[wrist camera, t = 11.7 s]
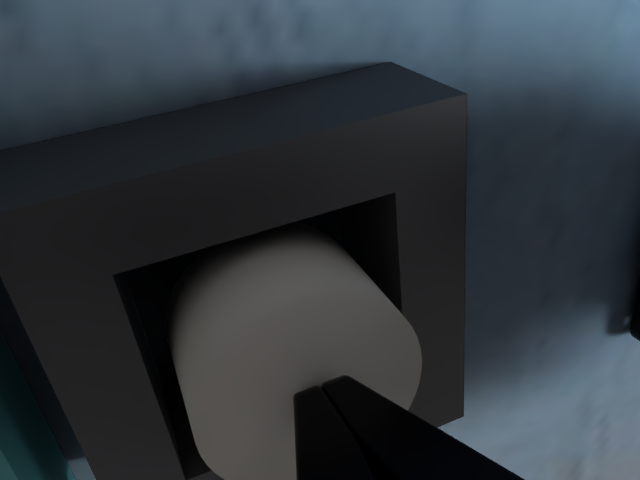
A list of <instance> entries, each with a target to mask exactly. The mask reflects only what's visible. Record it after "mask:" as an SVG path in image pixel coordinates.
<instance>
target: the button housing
mask: <svg viewBox="0 0 640 480" xmlns="http://www.w3.org/2000/svg"><path fill="white" fill-rule="evenodd" d="M466 133H467V94H466V93H464V92H461V91H459V90H456V89H454V88H452V87H449V86H447V85H444V84H442V83H440V82H437V81H435V80H433V79H430V78H428V77H425V76H423V75H421V74H418V73H416V72H414V71H411V70H409V69H406V68H404V67H402V66H399V65H397V64H394V63H392V62H388V63H384V64H380V65H375V66H371V67H366V68H362V69H358V70H353V71H349V72H344V73H340V74H336V75H331V76H327V77H323V78H318V79H314V80H309V81H305V82H301V83H296V84H292V85H287V86H283V87H279V88H274V89H270V90H265V91H261V92H257V93H252V94H248V95H244V96H239V97H235V98H230V99H226V100H222V101H217V102H213V103H208V104H204V105H200V106H195V107H191V108H186V109H182V110H178V111H173V112H169V113H164V114H160V115H156V116H151V117H147V118H143V119H138V120H134V121H129V122H125V123H121V124H116V125H112V126H107V127H103V128H99V129H94V130H90V131H85V132H81V133H77V134H72V135H68V136H64V137H59V138H55V139H50V140H46V141H42V142H37V143H33V144H28V145H24V146H20V147H15V148H11V149H6V150H2V151H0V277H1V280H2V282H3V284H4V286H5V288H6V290H7V292H8V294H9V296H10V299H11V301H12V303H13V305H14V307H15V309H16V311H17V313H18V315H19V318H20V320H21V322H22V324H23V326H24V328H25V330H26V332H27V334H28V337H29V339H30V341H31V343H32V345H33V347H34V349H35V351H36V353H37V356H38V358H39V360H40V362H41V364H42V366H43V368H44V370H45V372H46V375H47V377H48V379H49V381H50V383H51V385H52V387H53V389H54V391H55V394H56V396H57V398H58V400H59V402H60V404H61V406H62V408H63V410H64V413H65V415H66V417H67V419H68V421H69V423H70V425H71V427H72V429H73V431H74V434H75V436H76V438H77V440H78V442H79V444H80V446H81V448H82V450H83V453H84V455H85V457H86V459H87V461H88V463H89V465H90V467H91V469H92V472H93V474H94V476H95V478H96V480H224V479H223V478H221V477H220V476H218V475H217V474H215V473H214V472H213V471H212V470H211V469H210V468H209V467H208V466H207V464H206V463H205V462H204V460H203V459H202V457H201V456H200V453H199V451H198V449H197V447H196V444H195V440H194V437H193V433H192V429H191V425H190V422H189V418H188V414H187V411H186V407H185V403H184V400H183V396H182V392H181V389H180V385H179V384H177V385H174V386H172V387H169V388H166V389H164V387H163V384H162V381H161V378H160V376H159V373H158V370H157V367H156V364H155V361H154V358H153V355H152V352H151V349H150V346H149V343H148V341H147V338H146V335H145V332H144V329H143V326H142V323H141V320H140V317H139V314H138V311H137V309H136V306H135V303H134V300H133V297H132V294H131V291H130V288H129V285H128V282H127V279H126V276H125V274H124V272H125V271H128V270H132V269H135V268H139V267H142V266H145V265H149V264H152V263H156V262H159V261H163V260H166V259H169V258H173V257H176V256H180V255H183V254H186V253H190V252H193V251H197V250H200V249H204V248H207V247H210V246H214V245H217V244H221V243H224V242H227V241H231V240H234V239H238V238H241V237H245V236H248V235H251V234H255V233H258V232H262V231H265V230H268V229H272V228H275V227H279V226H282V225H286V224H289V223H292V222H296V221H299V220H303V219H306V218H309V217H313V216H316V215H320V214H323V213H327V212H330V211H333V210H337V209H340V208H341V210H342V219H343V228H344V237H345V246H346V251H347V253H348V254H349V255H350V256H351V257H352V258H353V259H354V260H355V262H356V263H357V264H358V265H359V266H360V267H361V268H362V270H363V271H364V272H365V273H366V274H367V275H368V276H369V277H370V279H371V280H372V281H373V282H374V283H375V284H376V285H377V286H378V288H379V289H380V290H381V291H382V292H383V293H384V294H385V296H386V297H387V298H388V299H389V300H390V301H391V302H392V303H393V305H394V306H395V307H396V308H397V309H398V310H399V311H400V312H401V314H402V315H403V316H404V317H405V318H406V319H407V321H408V322H409V323H410V325H411V326H412V327H413V329H414V331H415V333H416V335H417V337H418V340H419V344H420V347H421V355H422V371H421V377H420V382H419V385H418V389H417V392H416V395H415V397H414V399H413V401H412V404H411V406H410V407H409V409H408V411H409V412H411V413H413V414H414V415H416V416H418V417H420V418H421V419H423V420H425V421H426V422H428V423H430V424H431V425H433V426H435V427H436V428H437V427H439V426H442V425H444V424H446V423H449V422H451V421H454V420H456V419H458V418H461V417H463V416H464V327H465V230H466Z"/></svg>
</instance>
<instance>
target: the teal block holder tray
mask: <svg viewBox="0 0 640 480" xmlns="http://www.w3.org/2000/svg"><path fill="white" fill-rule="evenodd" d="M0 480H76V479H75V477H74V475H73V473H72V471H71V469H70V467H69V465H68V463H67V461H66V459H65V457H64V455H63V453H62V451H61V449H60V447H59V445H58V443H57V441H56V439H55V437H54V435H53V433H52V431H51V429H50V427H49V425H48V423H47V421H46V419H45V417H44V415H43V413H42V411H41V409H40V407H39V405H38V403H37V401H36V399H35V397H34V395H33V393H32V391H31V389H30V387H29V385H28V383H27V381H26V379H25V377H24V375H23V373H22V371H21V369H20V367H19V365H18V363H17V361H16V359H15V357H14V355H13V353H12V351H11V349H10V347H9V345H8V343H7V341H6V339H5V337H4V335H3V333H2V331H1V329H0Z"/></svg>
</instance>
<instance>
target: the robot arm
mask: <svg viewBox="0 0 640 480" xmlns="http://www.w3.org/2000/svg"><path fill="white" fill-rule="evenodd" d="M630 333H631V335H632V336H633V337H634V338H636V339H637V340H639V341H640V281H639V286H638V291H637V296H636V302H635V307H634V312H633V317H632V322H631V328H630ZM293 406H294V430H295V455H296V479H297V480H524V479H523V478H521V477H519V476H518V475H516V474H514V473H513V472H511V471H509V470H507V469H506V468H504V467H502V466H501V465H499V464H497V463H496V462H494V461H492V460H491V459H489V458H487V457H485V456H484V455H482V454H480V453H479V452H477V451H475V450H474V449H472V448H470V447H469V446H467V445H465V444H464V443H462V442H460V441H458V440H457V439H455V438H453V437H452V436H450V435H448V434H447V433H445V432H443V431H442V430H440V429H438V428H436V427H435V426H433V425H431V424H430V423H428V422H426V421H425V420H423V419H421V418H420V417H418V416H416V415H414V414H413V413H411V412H409V411H408V410H406V409H404V408H403V407H401V406H399V405H398V404H396V403H394V402H392V401H391V400H389V399H387V398H386V397H384V396H382V395H381V394H379V393H377V392H376V391H374V390H372V389H371V388H369V387H367V386H365V385H364V384H362V383H360V382H359V381H357V380H355V379H354V378H352V377H350V376H347V375H342V376H340V377H337V378H334V379H332V380H329V381H326V382H324V383H323V384H322V385H321V387H320V386H317V385H316V386H313V387H310V388H307V389H305V390H302V391H299V392H297V393H295V394H294V397H293Z"/></svg>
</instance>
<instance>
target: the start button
mask: <svg viewBox="0 0 640 480" xmlns="http://www.w3.org/2000/svg"><path fill="white" fill-rule="evenodd" d="M165 323H166V335H167V340H168V344H169V348H170V352H171V355H172V359H173V363H174V366H175V370H176V374H177V377H178V381H179V385H180V389H181V392H182V396H183V400H184V403H185V407H186V411H187V414H188V418H189V422H190V425H191V429H192V433H193V437H194V440H195V444H196V447H197V449H198V451H199V453H200V456H201V457H202V459H203V460H204V462H205V463H206V464H207V466H208V467H209V468H210V469H211V470H212V471H213V472H214V473H215V474H217V475H218V476H220V477H221V478H223V479H224V480H297V479H296V455H295V430H294V406H293V397H294V394H295V393H297V392H299V391H302V390H305V389H307V388H310V387H313V386H316V385H317V386H320V387H321V385H322V384H323V383H324V382H326V381H329V380H332V379H334V378H337V377H340V376H342V375H347V376H350V377H352V378H354V379H355V380H357V381H359V382H360V383H362V384H364V385H365V386H367V387H369V388H371V389H372V390H374V391H376V392H377V393H379V394H381V395H382V396H384V397H386V398H387V399H389V400H391V401H392V402H394V403H396V404H398V405H399V406H401V407H403V408H404V409H406V410H408V409H409V407H410V406H411V404H412V401H413V399H414V397H415V395H416V392H417V389H418V385H419V382H420V377H421V371H422V355H421V347H420V344H419V340H418V337H417V335H416V333H415V331H414V329H413V327H412V326H411V325H410V323H409V322H408V321H407V319H406V318H405V317H404V316H403V315H402V314H401V312H400V311H399V310H398V309H397V308H396V307H395V306H394V305H393V303H392V302H391V301H390V300H389V299H388V298H387V297H386V296H385V294H384V293H383V292H382V291H381V290H380V289H379V288H378V286H377V285H376V284H375V283H374V282H373V281H372V280H371V279H370V277H369V276H368V275H367V274H366V273H365V272H364V271H363V270H362V268H361V267H360V266H359V265H358V264H357V263H356V262H355V260H354V259H353V258H352V257H351V256H350V255H349V254H348V253H347V251H346V250H345V249H344V248H343V247H342V246H341V245H340V244H339V243H338V242H337V241H336V240H335V239H334V238H332V237H331V236H329V235H328V234H326V233H325V232H323V231H321V230H319V229H317V228H315V227H312V226H308V225H305V224H301V223H294V222H292V223H289V224H286V225H282V226H279V227H275V228H272V229H268V230H265V231H262V232H258V233H255V234H251V235H248V236H245V237H241V238H238V239H234V240H231V241H227V242H224V243H221V244H217V245H214V246H210V247H208V248H206V249H205V250H204V251H203V252H202V253H200V254H199V255H198V256H197V257H196V258H195V259H194V260H193V261H192V262H191V263H190V265H189V266H188V267H187V268H186V270H185V271H184V272H183V274H182V275H181V277H180V278H179V280H178V282H177V284H176V285H175V287H174V290H173V292H172V294H171V297H170V300H169V303H168V307H167V312H166V322H165Z"/></svg>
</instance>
